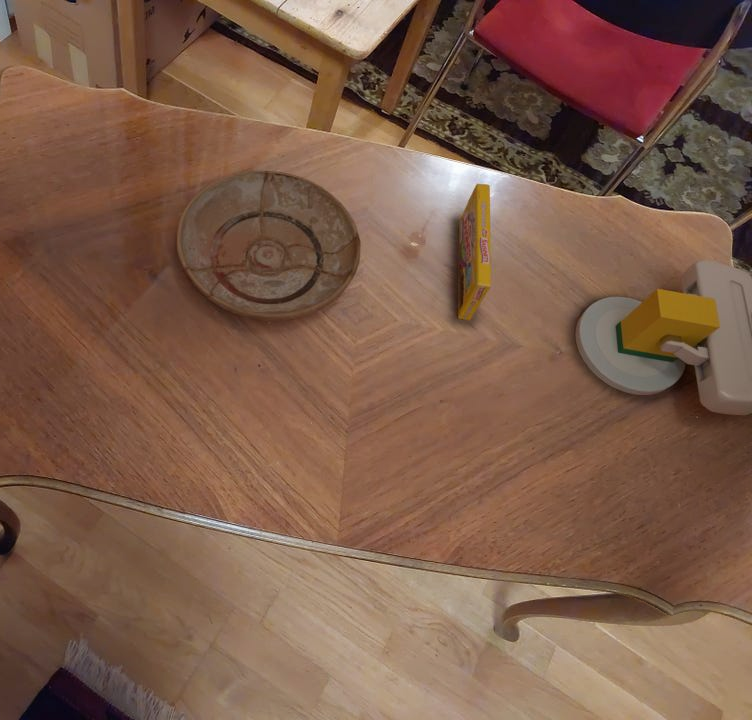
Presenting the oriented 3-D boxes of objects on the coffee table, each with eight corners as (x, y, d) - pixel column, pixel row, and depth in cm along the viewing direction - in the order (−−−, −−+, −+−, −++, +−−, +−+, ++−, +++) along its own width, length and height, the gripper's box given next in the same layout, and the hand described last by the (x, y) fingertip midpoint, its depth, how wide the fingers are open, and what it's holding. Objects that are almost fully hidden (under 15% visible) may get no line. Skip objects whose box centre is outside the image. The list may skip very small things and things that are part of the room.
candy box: (455, 222, 93) (476, 181, 86) (470, 224, 93) (492, 184, 86) (454, 318, 86) (477, 283, 78) (471, 321, 86) (495, 286, 78)
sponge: (615, 325, 86) (656, 287, 78) (668, 335, 86) (715, 298, 78) (617, 352, 84) (660, 317, 76) (672, 362, 84) (720, 327, 76)
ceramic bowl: (326, 360, 81) (333, 341, 77) (150, 302, 83) (147, 280, 79) (372, 222, 92) (380, 198, 87) (214, 173, 94) (214, 147, 89)
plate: (700, 352, 86) (706, 348, 85) (643, 416, 81) (649, 412, 80) (613, 283, 90) (618, 278, 89) (554, 340, 85) (558, 335, 84)
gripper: (774, 260, 82) (666, 240, 82) (810, 408, 73) (687, 386, 73) (738, 287, 88) (637, 269, 88) (767, 428, 78) (653, 407, 78)
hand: (660, 323), depth 80 cm, fingers closed on sponge, 4 cm apart
